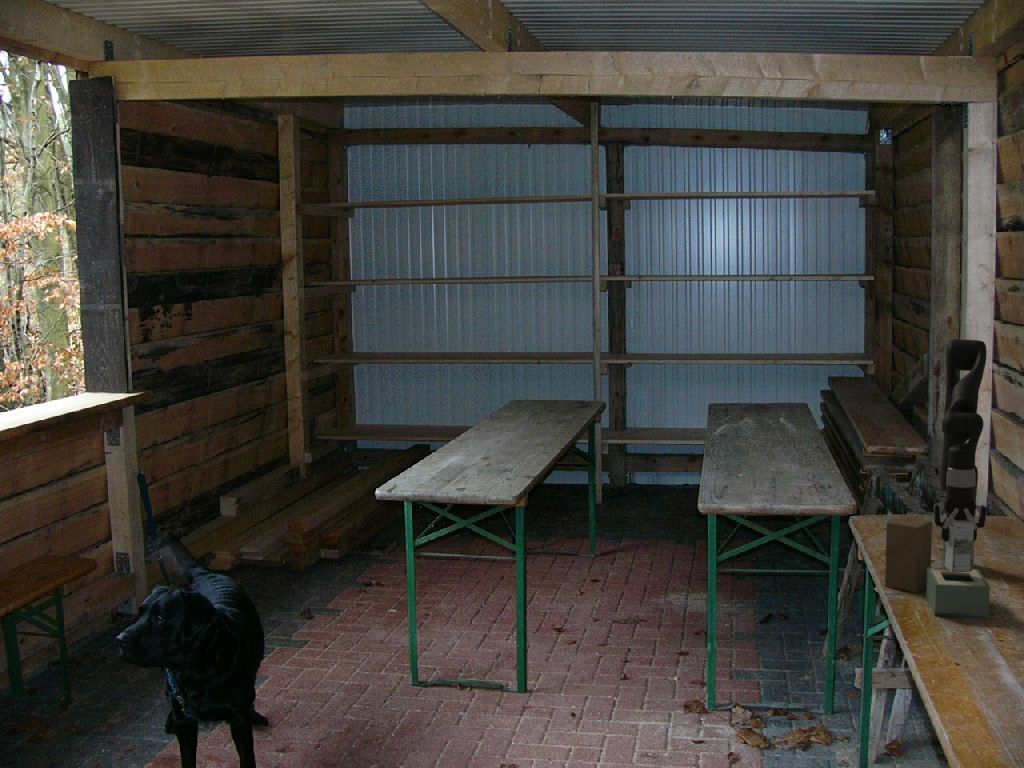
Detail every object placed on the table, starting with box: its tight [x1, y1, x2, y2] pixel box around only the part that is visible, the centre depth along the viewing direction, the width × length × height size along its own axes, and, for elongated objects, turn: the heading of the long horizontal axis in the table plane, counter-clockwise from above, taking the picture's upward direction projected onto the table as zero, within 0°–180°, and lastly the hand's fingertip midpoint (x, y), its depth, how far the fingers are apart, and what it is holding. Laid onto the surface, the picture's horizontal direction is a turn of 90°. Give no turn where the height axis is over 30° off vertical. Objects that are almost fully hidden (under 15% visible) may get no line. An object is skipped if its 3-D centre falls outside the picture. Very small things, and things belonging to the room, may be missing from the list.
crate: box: [925, 566, 991, 619], centre depth 318 cm, size 16×14×9 cm
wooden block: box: [884, 515, 933, 593], centre depth 337 cm, size 10×10×20 cm
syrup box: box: [943, 519, 974, 572], centre depth 316 cm, size 6×6×14 cm
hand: (958, 541), depth 316 cm, fingers closed on syrup box, 6 cm apart
